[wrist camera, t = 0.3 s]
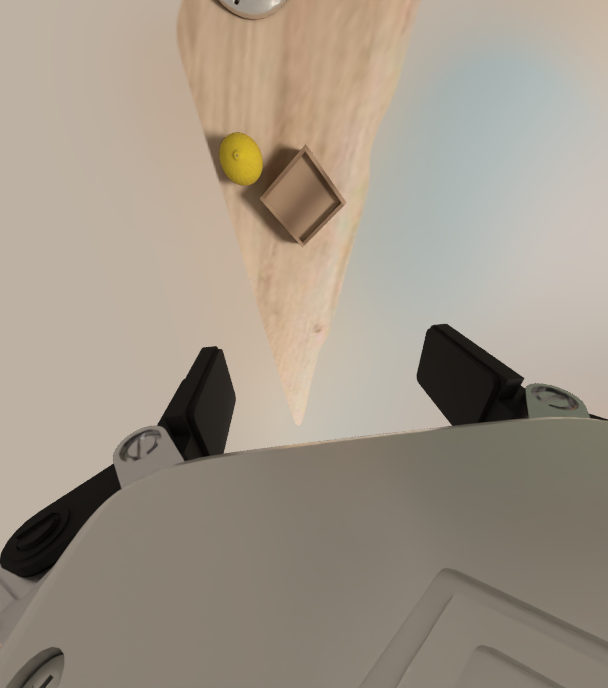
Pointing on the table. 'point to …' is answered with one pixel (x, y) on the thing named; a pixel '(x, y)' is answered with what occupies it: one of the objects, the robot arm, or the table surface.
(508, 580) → the robot arm
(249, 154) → the lemon
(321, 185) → the walnut tray
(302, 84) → the table surface
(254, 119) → the table surface
